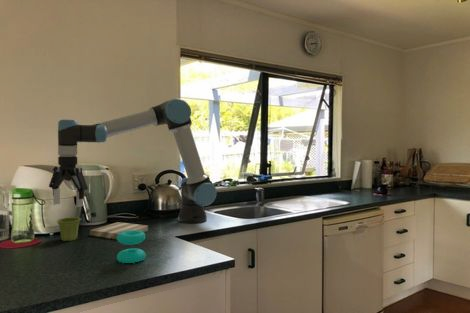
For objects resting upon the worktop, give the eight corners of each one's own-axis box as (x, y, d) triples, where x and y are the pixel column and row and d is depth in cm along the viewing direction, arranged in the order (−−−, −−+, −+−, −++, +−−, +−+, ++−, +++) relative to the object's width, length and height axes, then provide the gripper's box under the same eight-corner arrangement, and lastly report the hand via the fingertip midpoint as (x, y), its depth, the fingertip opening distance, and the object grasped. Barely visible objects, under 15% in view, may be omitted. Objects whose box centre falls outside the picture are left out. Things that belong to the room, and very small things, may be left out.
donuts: (129, 237, 129) (110, 233, 135) (130, 266, 130) (110, 261, 135) (151, 231, 137) (132, 228, 143) (151, 259, 138) (132, 254, 143)
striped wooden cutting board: (147, 231, 180) (147, 225, 180) (121, 241, 164) (121, 234, 164) (118, 228, 188) (118, 222, 188) (90, 236, 171) (90, 230, 171)
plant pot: (64, 243, 158) (64, 222, 157) (53, 239, 163) (52, 219, 163) (85, 238, 165) (85, 219, 165) (73, 235, 171) (73, 216, 171)
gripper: (96, 156, 161) (96, 206, 162) (54, 154, 171) (54, 201, 172) (82, 157, 154) (82, 209, 155) (39, 155, 165) (40, 204, 165)
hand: (68, 205), depth 164 cm, fingers open, 13 cm apart
